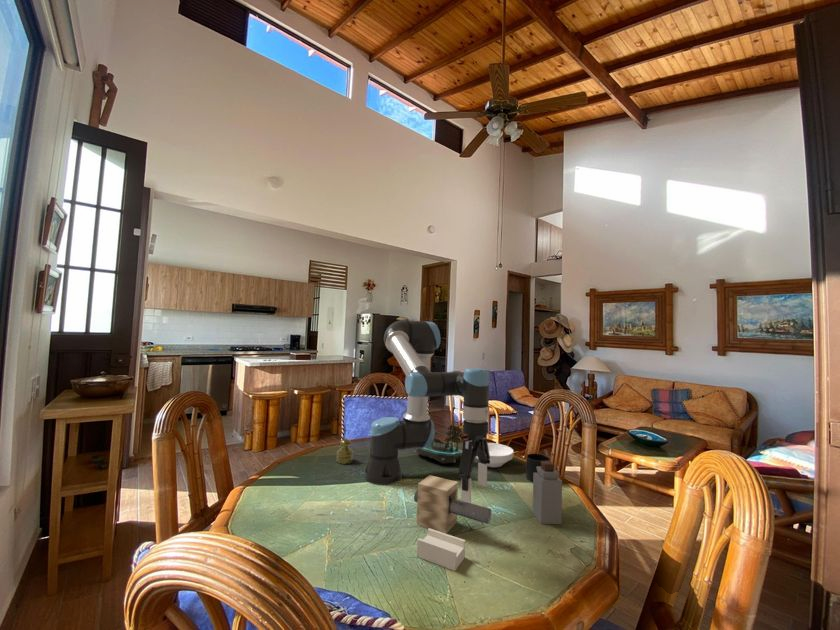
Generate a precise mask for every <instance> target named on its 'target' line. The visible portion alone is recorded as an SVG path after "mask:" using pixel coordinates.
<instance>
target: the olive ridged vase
mask: <svg viewBox="0 0 840 630" xmlns="http://www.w3.org/2000/svg"><path fill="white" fill-rule="evenodd" d="M339 443H340V445H341V447H340V448H339V449H338V450H337V451H336V463H337V462H338V463H337V464H340V463H341V464H340V465H347V464H346V463H348V464H351V463H352V462H353V461H354V460H353V459H354V456H353V455H354V450H353V449H351V448H350V447H349V445H350V444H351V443H352V440H350V439H348V438H344V439H342V440H340V441H339ZM350 462H351V463H350Z"/></svg>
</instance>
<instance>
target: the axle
mask: <svg viewBox="0 0 840 630" xmlns="http://www.w3.org/2000/svg"><path fill="white" fill-rule="evenodd" d="M417 499H418V488H417V489H416V490H415V492H414V497H413V500H414V502H415V503H417ZM448 512H450V513H453V514H456V515H457V516H460V517H463V518H467V519H469V520H473V521H476V522H479V523H482V524H483V523H484V524H486V525H489V524H490V522H491V520H492V509H491V508H489V507H485V506H482V505H479V504H478V505H477V504H474V503H472V502H471V503H468V502H464V501H461V499H458V498H457V499H454V498H450V497H449V510H448Z"/></svg>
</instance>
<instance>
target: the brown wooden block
mask: <svg viewBox="0 0 840 630" xmlns="http://www.w3.org/2000/svg"><path fill="white" fill-rule="evenodd" d="M458 485H459V482H458V481H455V480H451V479H446V478H443V477H439V476H434V475H432V474H429V475H428V476H426V477H425V478H424V479H422V480H421V481H419V482H418V483H417V489H418V499H417V502H416V504H417V505H416V506H417V507H416V525H417V526H419V527H422V528H426V529H427V530H428V529H429V528H430V529H433V530H436V531H439V532H442V533H445V534H448V533H449V532H450V531H451V529H453V527H455V525H456V524H457V523H458V522H457V520H458V518H457V516H458V515H456V514H453V513H450V512H448V510H449V497H450V498H454V499H457V500H458V488H459V487H458Z"/></svg>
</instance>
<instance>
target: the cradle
mask: <svg viewBox="0 0 840 630" xmlns="http://www.w3.org/2000/svg"><path fill="white" fill-rule="evenodd" d="M416 543H417V544H416V547H417V548H416V557H417V558H420V559H422V560H426V561H428V562H430V563H433V564H436V565H438V566H440V567H443V568H446V569H448V570H452V571H454V572H456V571H457V569H458V568H459V566H460V565H461V564H462V562H463V561H464V560H465V558H466V540H465V539H464V538H460V537H457V536H453V535H451V534H448V533H447V534H445V533H442V532H439V531H436V530H433V529H430V528H429V529H428V528H427V534H426V536H425V537H424V538H421V537H418V538H417V542H416Z"/></svg>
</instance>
